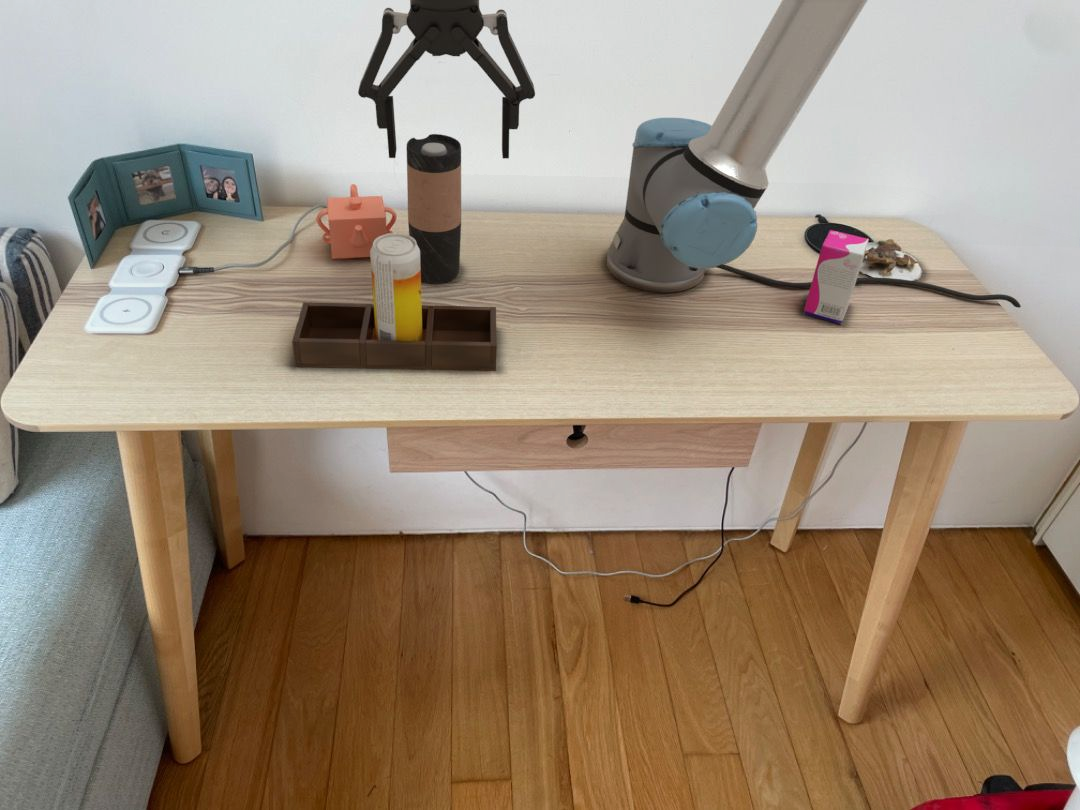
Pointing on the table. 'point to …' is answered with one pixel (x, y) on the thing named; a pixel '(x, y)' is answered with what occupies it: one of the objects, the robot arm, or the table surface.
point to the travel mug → (435, 204)
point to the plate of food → (889, 262)
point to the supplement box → (835, 276)
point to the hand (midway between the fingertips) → (449, 153)
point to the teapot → (354, 224)
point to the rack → (351, 340)
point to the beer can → (396, 287)
